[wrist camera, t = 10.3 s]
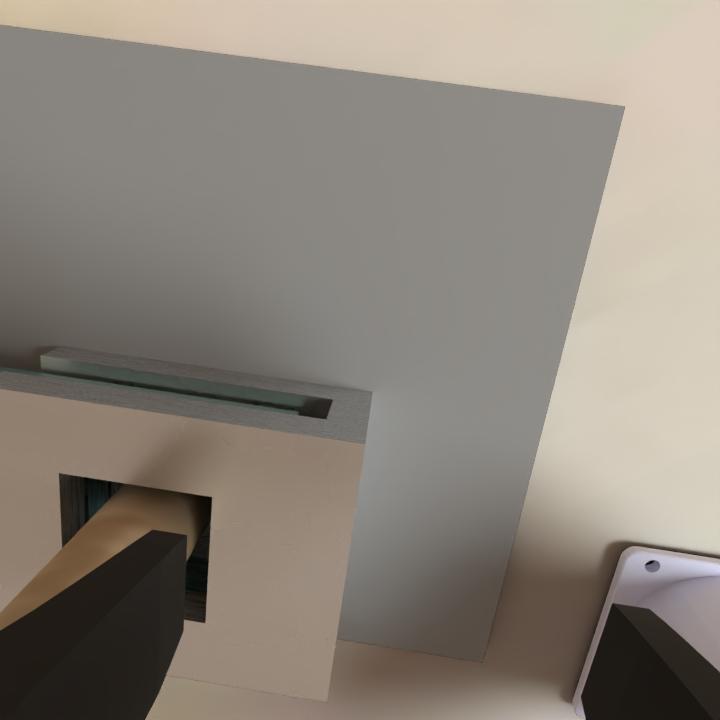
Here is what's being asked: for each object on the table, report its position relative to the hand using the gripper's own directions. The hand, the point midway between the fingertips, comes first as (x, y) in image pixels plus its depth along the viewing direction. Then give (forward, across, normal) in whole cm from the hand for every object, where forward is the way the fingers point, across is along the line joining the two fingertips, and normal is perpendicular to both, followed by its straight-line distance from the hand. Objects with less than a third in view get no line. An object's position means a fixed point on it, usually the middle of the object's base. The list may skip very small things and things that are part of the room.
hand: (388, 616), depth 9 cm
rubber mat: (+10, +6, 0) cm, 12 cm away
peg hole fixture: (+9, +8, +4) cm, 13 cm away
